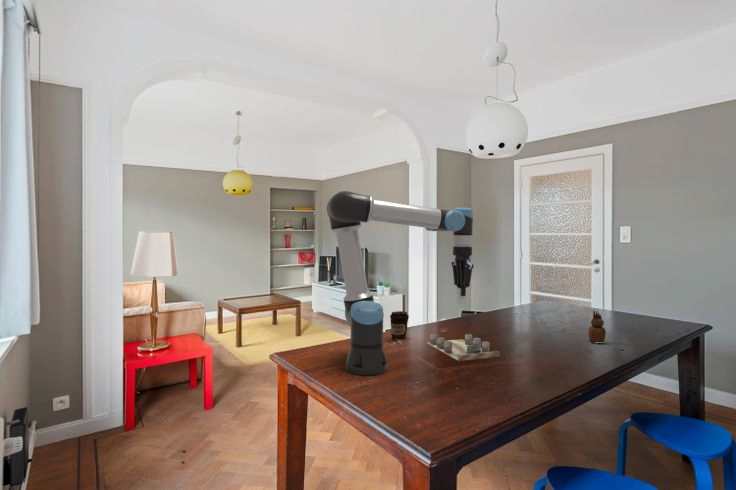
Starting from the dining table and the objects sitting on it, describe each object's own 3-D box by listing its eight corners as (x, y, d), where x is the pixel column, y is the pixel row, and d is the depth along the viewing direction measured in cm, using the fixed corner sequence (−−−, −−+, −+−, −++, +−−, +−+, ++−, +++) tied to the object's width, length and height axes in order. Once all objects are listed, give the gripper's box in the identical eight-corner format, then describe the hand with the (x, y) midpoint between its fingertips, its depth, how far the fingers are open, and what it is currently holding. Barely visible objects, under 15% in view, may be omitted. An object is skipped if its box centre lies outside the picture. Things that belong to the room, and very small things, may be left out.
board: (458, 365, 150) (459, 350, 150) (426, 345, 175) (426, 333, 175) (499, 360, 156) (499, 346, 156) (462, 342, 181) (462, 330, 181)
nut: (470, 357, 154) (470, 349, 154) (463, 353, 159) (463, 346, 159) (483, 356, 156) (483, 348, 156) (476, 352, 161) (476, 345, 161)
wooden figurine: (590, 344, 180) (591, 310, 179) (586, 340, 186) (587, 308, 185) (607, 345, 178) (608, 311, 178) (602, 341, 184) (603, 309, 183)
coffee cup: (407, 344, 177) (407, 314, 177) (388, 342, 179) (388, 313, 179) (409, 338, 186) (409, 310, 185) (391, 337, 188) (391, 310, 187)
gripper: (479, 246, 159) (478, 306, 160) (461, 245, 171) (460, 300, 172) (463, 246, 157) (462, 307, 157) (446, 245, 169) (445, 301, 170)
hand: (461, 303), depth 165 cm, fingers closed
